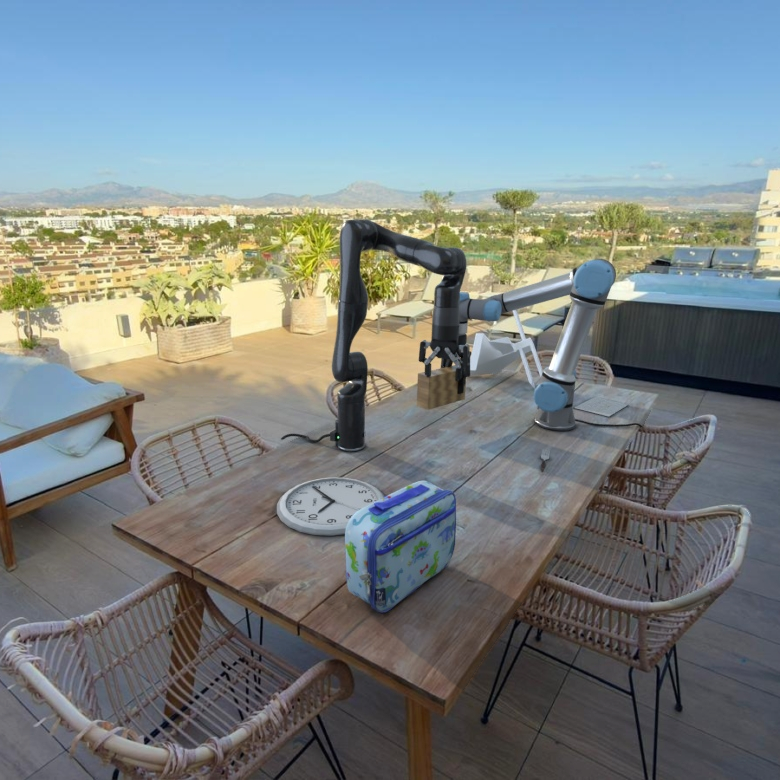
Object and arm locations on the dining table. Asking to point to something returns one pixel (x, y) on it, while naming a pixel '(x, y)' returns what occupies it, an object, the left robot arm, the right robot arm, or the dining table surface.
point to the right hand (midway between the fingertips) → (453, 391)
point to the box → (438, 388)
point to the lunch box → (399, 543)
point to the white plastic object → (501, 354)
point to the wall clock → (325, 504)
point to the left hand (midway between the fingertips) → (442, 378)
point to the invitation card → (601, 406)
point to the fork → (544, 459)
